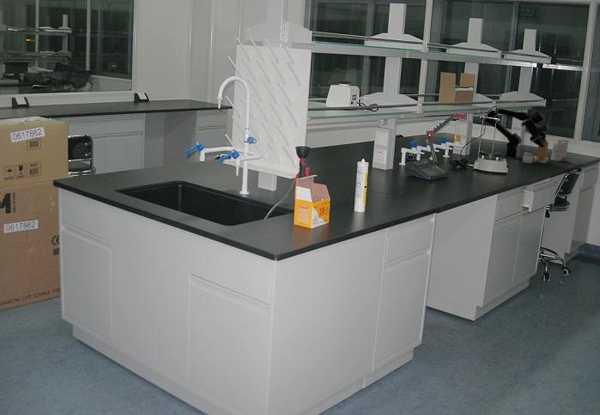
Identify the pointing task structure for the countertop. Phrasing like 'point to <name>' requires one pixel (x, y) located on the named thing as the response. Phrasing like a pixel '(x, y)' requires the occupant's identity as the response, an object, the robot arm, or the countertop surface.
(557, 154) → the ink cartridge box
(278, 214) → the countertop surface
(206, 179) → the countertop surface
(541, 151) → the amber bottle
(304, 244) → the countertop surface
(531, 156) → the white jar
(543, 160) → the beech block
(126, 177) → the countertop surface
